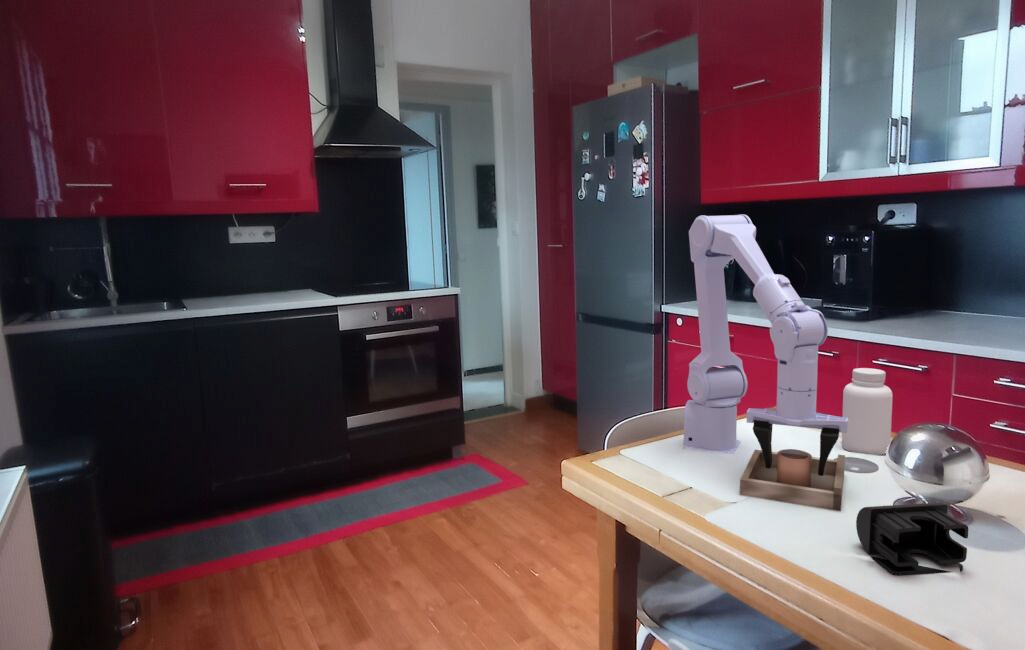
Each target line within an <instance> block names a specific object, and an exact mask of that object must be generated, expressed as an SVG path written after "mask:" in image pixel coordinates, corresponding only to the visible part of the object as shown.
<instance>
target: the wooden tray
mask: <svg viewBox="0 0 1025 650" xmlns="http://www.w3.org/2000/svg"><path fill="white" fill-rule="evenodd" d="M777 455H778V451H777V452H776V451H772V465H771V468H770V469H769V468H766V466H765V460H764V456H763V452H762V449H754V451H753V453H752V455H751V457H750V459H749V461H748V462H747V464H746V467H745V469H744V471H743V472H742V475H741V476H740V479H739V495H740V496H745V497H752V498H759V499H765V500H771V501H777V502H782V503H788V504H796V505H801V506H808V507H814V508H819V509H820V508H821V509H826V510H830V511H836V512H837V511H839V512H841V511H842V502H843V490H844V480H845V470H844V467H845V457H846V455H844V454H837V458H838V460H833V459H831V458H828V459H827V461H826V464H825V467H824V474H823V476H819V475H818V468H819V460H820V457H815V456H812V464H811V487H810V488H808V487H802V486H795V485H788V484H782V483H777Z"/></svg>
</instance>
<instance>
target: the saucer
mask: <svg viewBox="0 0 1025 650" xmlns="http://www.w3.org/2000/svg"><path fill="white" fill-rule="evenodd" d="M832 460H838V457H836V458H833V459H832ZM878 471H879V465H878V463H877V464H876V463H875V462H873V461H871V460H868V459H865V458H861V457H853V456H845V467H844V472H848V473H849V472H850V473H855V474H873V473H877V472H878Z"/></svg>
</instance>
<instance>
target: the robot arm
mask: <svg viewBox="0 0 1025 650" xmlns="http://www.w3.org/2000/svg"><path fill="white" fill-rule="evenodd" d="M756 236H757V227H756V226H755V225H754V224H753V222H752V220H751V218H750V217H749V216H748V215H747V214H742V213H741V214H740V213H739V214H734V215H733V214H732V215H731V214H730V215H728V214H727V215H705V214H704V215H699V216H697V217H695V219H694V221H693V223H692V224H691V226H690V229H689V230H688V238H689V239H688V240H689V252H690V260H691V262H692V263H693V267H694V277H695V278H694V280H695V281H694V282H695V291H696V305H697V315H698V327H699V328H698V329H699V341H700V351H701V352H700V353H699V354H698V355H697V356H696V357H695V358H693V360H692V361H690V362H689V363H688V367H689V369H688V370H689V371H688V378H687V380H686V381H687V382H686V383H687V391H688V394H689V395H690V397H691V399H688V400H687V401H686V403H685V406H684V411H683V412H684V413H683V414H684V415H683V446H682V448H683V450H684V449H691V450H692V449H693V450H701V451H708V452H714V453H723V454H730V455H734V454H736V452H737V450H738V448H739V447H740V445H741V443H742V441H741V440H737V428H738V427H737V417H738V414H737V413H738V404H740V403H741V399H742V398H743V397H744V396H745V395H746V394H747V390H748V385H749V383H748V378H747V375H746V373H745V371H744V366H743V360H742V359H741V358H740V357H739V356H737V355H736V354H735V353H733V352H732V351H731V342H730V331H729V319H728V308H727V294H726V283H725V271H724V269H725V267H726V266H727V265H728V263H729V262H730V261H732V260H735V261H736V262H737V264H738V265H739V266H740V268H741V269H742V270H743V271H744V273H745V274H746V275H747V277H748V278H749V279H750V280H751V281H752V283H753V284H754V287H753V290H752V295H753V297H754V299H755V300H756V303H758V305H759V307H760V309H761V310H762V312H763V313H764V315H765V316H766V318H767V319H768V321H769V323H770V324H771V328H769V335H770V337H769V338H770V339H771V342H772V344H773V348H774V356H775V359H777V370H776V371H777V375H776V377H777V379H776V408H753V407H752V408H750V407H749V408H748V409H747V410H746V423H747V424H753V426H752V431H753V433H754V435H755V437H756V440H757V442H758V443H759V446H760V450H762V452H763V456H764V460H765V466H766V468H769V469H770V468H771V465H772V452H773V451H772V450H773V448H772V438H773V437H772V435H773V425H779V426H780V425H781V426H789V427H798V428H799V427H800V428H807V429H815V430H816V429H817V430H821V431H820V435H819V437H820V438H819V439H820V440H819V458H820V460H819V468H818V475H819V476H823V474H824V467H825V464H826V461H827V459H829V456H830V455H831V452H832V450H833V448H834V446H835V445H836V443H837V442H838V440H839V437H840V433H841V434H842V433H847V428H848V418H845V417H843V416H836V415H831V414H825V413H820V412H817V398H818V397H817V393H818V391H817V390H818V362H819V361H818V360H819V359H818V358H819V346H821V345H823V344H824V343H825V341H826V339H827V338H828V333H829V327H828V323H827V320H826V318H825V316H824V314H823V313H822V312H821V311H820V310H818V309H814V308H811V307H810V305H806V304H805V303H804V301H803V300H802V299H801V297H800V296H799V294H798V293H797V291H796V290H795V288H794V287H793V286H792V284H791V281H790V279H789V278H788V277H786V276H785V275H783V274H778V273H777V274H776V273H774V270H773V269H772V267H771V266H770V264H769V262H768V260H767V258H766V256H765V255H764V253H763V251H762V250H761V248H760V246H759V244H758V242H757V241H756ZM716 367H717V368H716Z"/></svg>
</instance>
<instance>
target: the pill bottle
mask: <svg viewBox="0 0 1025 650" xmlns="http://www.w3.org/2000/svg"><path fill="white" fill-rule="evenodd" d="M886 374H887V373H886V371H885V370H882V369H879V368H878V369H877V368H870V367H869V368H868V367H859V368H858V367H857V368H853V370H852V374H851V375H852V378H851V382H850V383H847V384H846V385H845V387H844V388H843V391H842V392H843V394H842V397H843V398H842V417H845V418H848V428H847V433H841V446H842V448H843V449H844V450H846V451H849V452H852V453H853V454H854V453H856V454H864V455H871V456H872V455H873V456H881V455H882V454H883V455H886V454H885V452H886V450H887V447H888V445H889V444H890V445H891V438H892V420H893V419H892V417H893V416H892V415H893V391H892V390H891V388H890V387H889V386H887V385H885V382H886V376H887V375H886Z"/></svg>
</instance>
